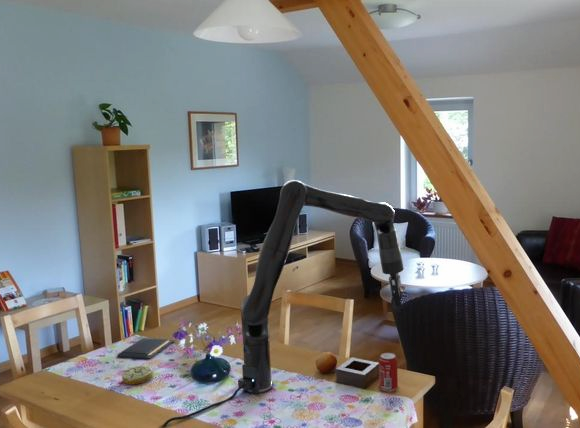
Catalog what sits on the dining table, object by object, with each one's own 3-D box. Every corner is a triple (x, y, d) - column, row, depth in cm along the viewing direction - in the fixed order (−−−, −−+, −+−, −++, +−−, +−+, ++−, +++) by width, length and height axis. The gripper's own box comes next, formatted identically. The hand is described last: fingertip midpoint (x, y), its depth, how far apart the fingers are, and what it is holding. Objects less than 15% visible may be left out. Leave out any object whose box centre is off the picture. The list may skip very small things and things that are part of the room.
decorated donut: (117, 380, 209) (116, 370, 208) (145, 370, 216) (144, 361, 216) (129, 388, 201) (128, 378, 201) (158, 378, 209) (157, 369, 208)
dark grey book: (143, 335, 249) (174, 337, 245) (143, 339, 249) (175, 341, 246) (114, 352, 230) (148, 355, 226) (115, 357, 230) (148, 360, 226)
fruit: (341, 371, 209) (330, 353, 208) (323, 382, 209) (312, 364, 208) (342, 362, 217) (331, 345, 216) (325, 372, 217) (313, 355, 216)
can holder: (364, 388, 197) (364, 375, 197) (336, 382, 203) (335, 368, 202) (379, 375, 207) (379, 362, 207) (352, 370, 213) (351, 357, 212)
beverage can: (400, 386, 199) (399, 353, 197) (393, 394, 193) (393, 360, 191) (383, 383, 201) (382, 351, 199) (376, 390, 196) (376, 357, 194)
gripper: (381, 255, 207) (389, 297, 210) (379, 265, 193) (387, 310, 196) (402, 252, 206) (409, 294, 209) (401, 262, 192) (408, 307, 195)
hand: (398, 302), depth 202 cm, fingers open, 8 cm apart
